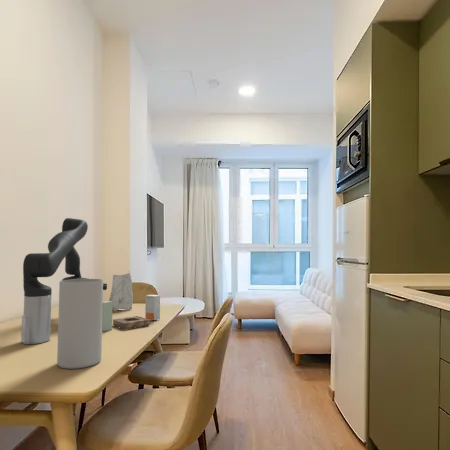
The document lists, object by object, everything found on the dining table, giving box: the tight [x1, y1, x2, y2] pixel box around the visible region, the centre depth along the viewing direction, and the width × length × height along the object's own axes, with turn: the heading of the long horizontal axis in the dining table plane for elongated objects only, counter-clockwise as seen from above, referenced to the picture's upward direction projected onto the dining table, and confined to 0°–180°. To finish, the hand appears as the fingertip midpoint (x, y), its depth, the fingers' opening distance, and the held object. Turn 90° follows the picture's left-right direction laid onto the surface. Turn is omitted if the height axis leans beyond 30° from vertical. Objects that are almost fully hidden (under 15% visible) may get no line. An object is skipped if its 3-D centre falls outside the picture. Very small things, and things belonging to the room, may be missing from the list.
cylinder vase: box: [56, 278, 104, 370], centre depth 107 cm, size 12×12×25 cm
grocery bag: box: [109, 267, 134, 310], centre depth 213 cm, size 32×14×23 cm, turn 15°
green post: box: [102, 300, 113, 332], centre depth 150 cm, size 4×4×12 cm
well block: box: [112, 315, 151, 330], centre depth 158 cm, size 12×12×3 cm
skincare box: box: [144, 294, 161, 321], centre depth 171 cm, size 6×4×12 cm
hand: (96, 288), depth 159 cm, fingers open, 8 cm apart
